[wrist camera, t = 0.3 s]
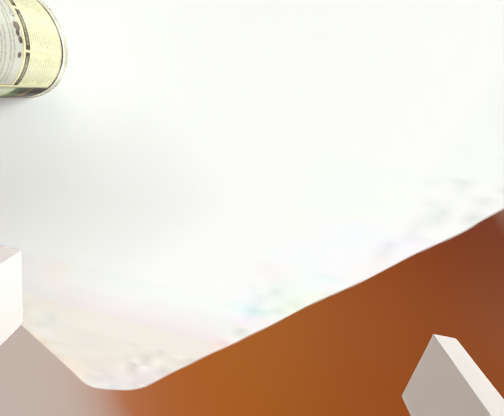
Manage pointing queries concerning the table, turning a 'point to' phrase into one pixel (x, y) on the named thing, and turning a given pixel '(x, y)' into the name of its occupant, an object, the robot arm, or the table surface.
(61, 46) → the coffee can
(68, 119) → the table surface
